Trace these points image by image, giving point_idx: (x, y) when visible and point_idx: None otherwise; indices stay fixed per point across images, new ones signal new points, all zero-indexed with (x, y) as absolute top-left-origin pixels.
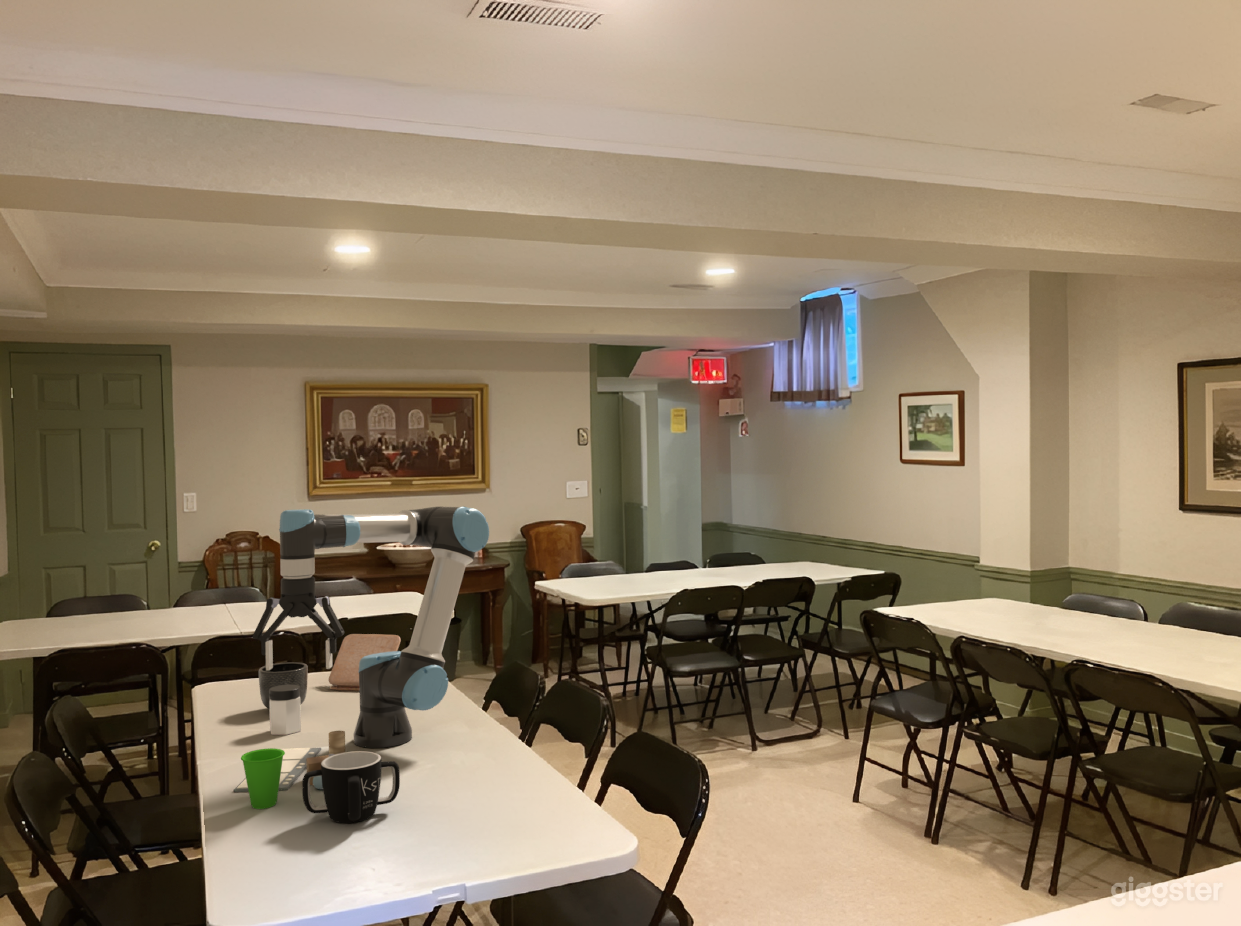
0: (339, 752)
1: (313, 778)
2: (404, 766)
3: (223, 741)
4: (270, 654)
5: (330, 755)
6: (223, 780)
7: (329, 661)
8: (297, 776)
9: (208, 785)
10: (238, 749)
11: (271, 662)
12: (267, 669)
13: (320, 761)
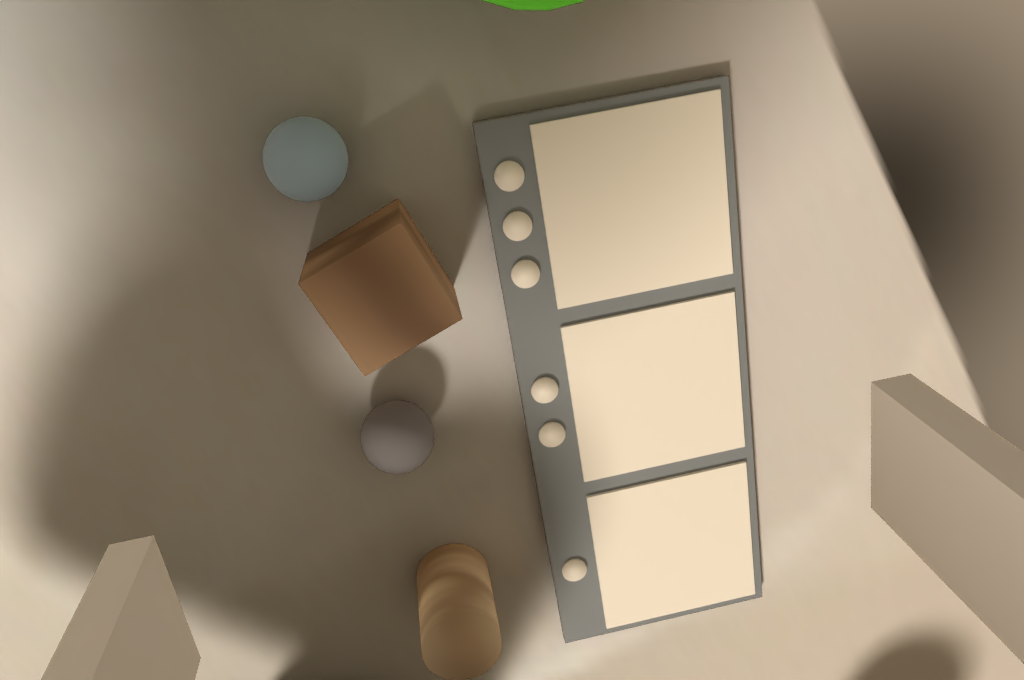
0: (430, 568)
1: (337, 143)
2: (50, 492)
3: (1005, 665)
4: (991, 539)
5: (396, 441)
6: (833, 226)
7: (82, 614)
8: (502, 288)
9: (875, 156)
10: (913, 592)
11: (914, 502)
12: (898, 380)
13: (355, 271)
